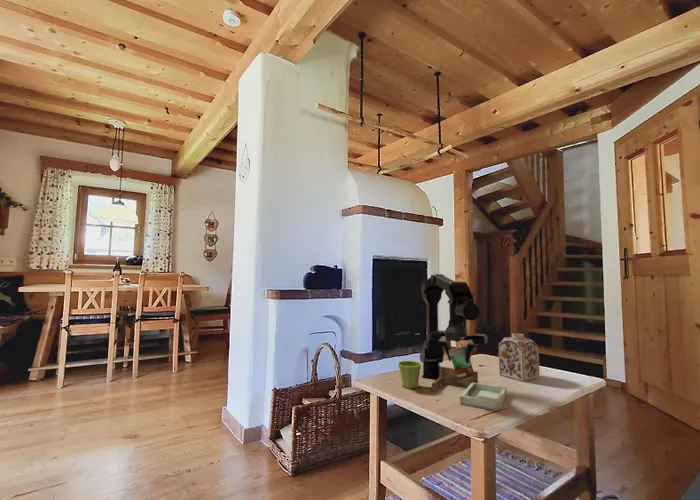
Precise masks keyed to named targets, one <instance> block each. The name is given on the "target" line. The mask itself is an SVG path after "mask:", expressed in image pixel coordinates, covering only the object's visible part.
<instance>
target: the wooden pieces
mask: <svg viewBox="0 0 700 500" xmlns="http://www.w3.org/2000/svg"><path fill="white" fill-rule="evenodd" d="M473 371H474V370H473ZM478 377H479V372H478V371H474V375H473V376H471V377H468V378H464V379H460V380H458V377H457V374H456V371H455V368H454V367H453V368H452V367H445V366H441V376H440V377H439V378H438V379H435V380H434V382H432V383H431V392H436V391H437V390H438V389H439V388H440V387H442V385H443V384H447V385H453V386H454V385H455V386H460V387H466V388H468V386H469V385H470V384H471V383H472V382H474V383H479V380H478V379H479V378H478ZM475 389H476V384H474V385H473V386H472V387H471V388H470V389H469V396H471V395H472V393H473V392H474V391H475Z"/></svg>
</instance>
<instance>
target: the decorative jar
mask: <svg viewBox="0 0 700 500" xmlns="http://www.w3.org/2000/svg"><path fill="white" fill-rule="evenodd" d="M539 352H540V351H539V346H538V344H537V343H536V341H534V340H532V339H531V338H528V337H527V338H526V337H525V335H524V334H522V333H511V336H508V337H506V336H505V337H503V339H502V340H501V341H500V342H499V343H498V369H499V370H498V371H499V375H500V376H502V377H505V378H508V379H512V380H515V381H520V382H523V383H525V382H529V381H533V380H536V379H539V378H540V372H541V371H540V355H539Z"/></svg>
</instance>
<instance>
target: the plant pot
mask: <svg viewBox="0 0 700 500" xmlns="http://www.w3.org/2000/svg"><path fill="white" fill-rule="evenodd" d="M397 365H398V368H399V371H400V373H399V374H400V378H401V379H400V380H401V385H402V387H403V388H405V389H415V388H418V387H419V380H420V372H421V369H422V368H421V367H423V363H422V362H421V361H420V362H419V361H415V360H401V361H399V362H397Z"/></svg>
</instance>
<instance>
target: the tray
mask: <svg viewBox="0 0 700 500" xmlns="http://www.w3.org/2000/svg"><path fill="white" fill-rule="evenodd" d="M474 384H476V389H475V391H474V392H473V393H472V395H471V396H469V389H470V388H471V387H472V386H473V385H474ZM507 392H508V391H507V387H505V386H498V385H492V384H488V383H487V384H485V383H479V382H478V383H474V382H472V383H471V384H470V385H469V386H468V387H466V389H465V390H464V391H463V392H462V393H461V395H460V396H459V401H460V405H464V406H469V407H474V408H479V409H485V410H490V411H495V412H500V410H501V408H502V405H503V403H504V402H505V399H506V397H507V395H508V394H507Z"/></svg>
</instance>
